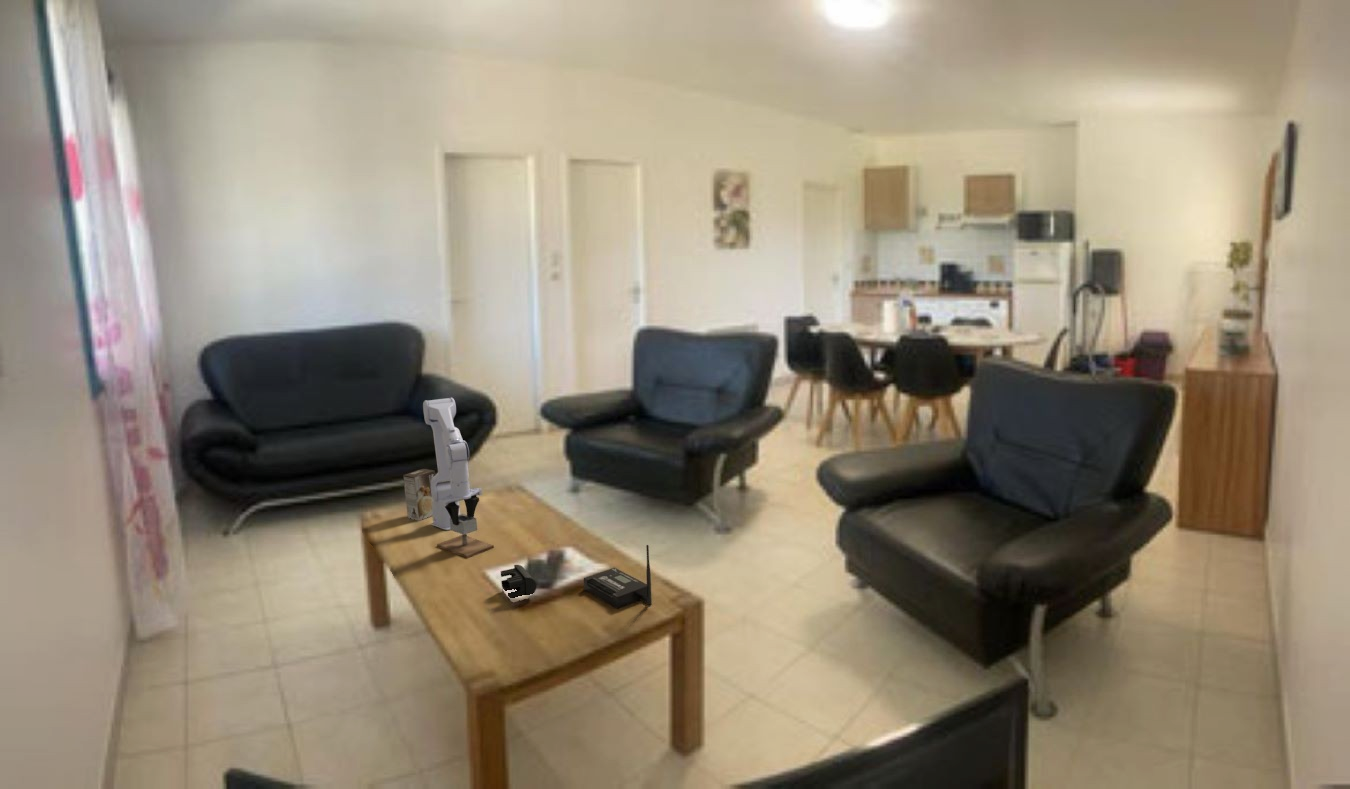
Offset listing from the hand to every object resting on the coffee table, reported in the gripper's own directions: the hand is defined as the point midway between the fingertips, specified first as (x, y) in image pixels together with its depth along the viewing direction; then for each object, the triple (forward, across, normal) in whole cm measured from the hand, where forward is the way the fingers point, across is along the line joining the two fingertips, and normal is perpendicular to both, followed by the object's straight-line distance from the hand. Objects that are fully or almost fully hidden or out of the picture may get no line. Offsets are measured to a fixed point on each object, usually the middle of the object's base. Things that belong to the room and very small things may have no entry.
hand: (463, 522), depth 252 cm
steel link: (+3, 0, 0) cm, 3 cm away
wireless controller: (+9, +4, -64) cm, 65 cm away
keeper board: (+8, 0, 0) cm, 8 cm away
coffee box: (+9, +9, +37) cm, 39 cm away
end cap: (+9, -12, -41) cm, 43 cm away
